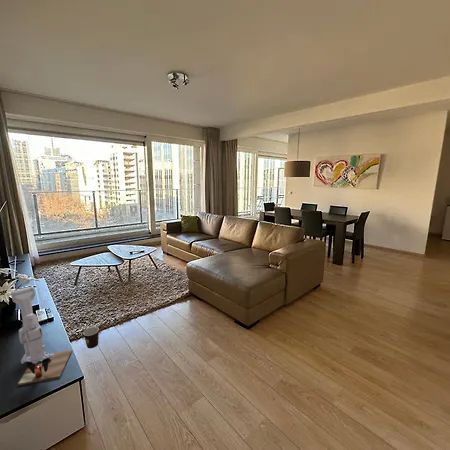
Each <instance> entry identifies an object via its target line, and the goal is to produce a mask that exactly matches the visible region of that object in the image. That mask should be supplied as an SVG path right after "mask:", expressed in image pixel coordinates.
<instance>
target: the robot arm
mask: <svg viewBox="0 0 450 450" xmlns="http://www.w3.org/2000/svg"><path fill="white" fill-rule="evenodd" d="M10 294H11V299H12V302H13V303H15V305H19V307H20V314H21V318H22V324H23V327H21V328H19V330H18V339H19V342H20V344H23V348H24V353H25V354H24V355H23V356H22V358H21V360H20V363H21V364H25V363H26V364H25V367H26V368H29V369H30V370H31V371H32V373H33V374H35V372H34V367H35V366H36V364H35V363H37V362H38V361H41V360H43V359H44V360H43V362H42V364H43V367H44V371H45V372H46V371H47V370H48V364H49V360H50V358H51V359H53V358H54V357H55V352H48V353H44V352H45V346H46V345H45V344H43V343H44V341H43V337H44V336H43V329H42V327H41V325H40V324H39V320H38V316H37V315H36V314H35V313H34V312H33V304H32V301H33V300H34V299H35V297H36V291H35V287H34V286H33V285H31V286H28V287H24V288H20V289H19V288H18V289H15V290H12V291H11V292H10Z"/></svg>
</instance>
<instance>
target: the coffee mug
mask: <svg viewBox="0 0 450 450" xmlns="http://www.w3.org/2000/svg"><path fill="white" fill-rule="evenodd" d="M99 332H100V328H99V327H98V326H91V327H88V328H86V329H85V330H82V331H81V333H82V336H83V338H84V341H85V345H86V347H87V348H88V349H94V348H96V347H98V345H99V336H100V334H99Z"/></svg>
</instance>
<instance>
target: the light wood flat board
mask: <svg viewBox="0 0 450 450" xmlns="http://www.w3.org/2000/svg"><path fill="white" fill-rule="evenodd" d="M44 353H49V352H48V351H44ZM54 353H55V357H54V358H53V359H51V360H50V361H49V364H48V370H47V371H46V372H45V371H44V367H43V364H42V376H40V377H37V378H36V377H35V374H33V373H32V371H31V370H30V369H29V368H28V367H26V370H25V372H23V375H22V376H21V377H20V379H19V380H18V382H17V386H23V385H28V384H33V383H38V382H45V381H49V380H57V379H59V378H61V377H62V374H63V373H64V371H65V369H66V366H67V364H68V362H69V360H70V357H71V354H73V349H69V350H68V349H67V350H62V351H57V352H54ZM35 364H36V363H35ZM36 366H37V365H36Z"/></svg>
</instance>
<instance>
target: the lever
mask: <svg viewBox="0 0 450 450" xmlns="http://www.w3.org/2000/svg"><path fill="white" fill-rule="evenodd" d="M43 360H44V359H43ZM43 360H41V361H38V362H37V363H36V365H37V366H35V367H34V372H35V377H36V378H37V377H40V376H42V362H43ZM50 360H51V358H50ZM50 360H49V361H50Z"/></svg>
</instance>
